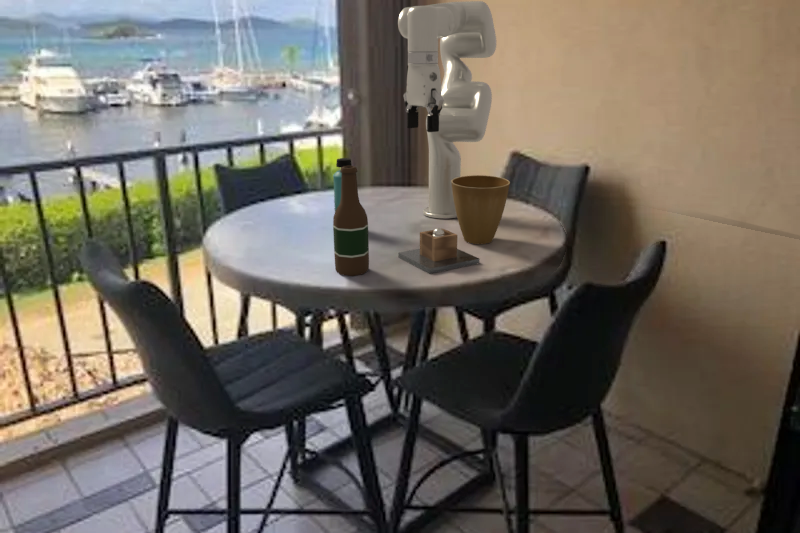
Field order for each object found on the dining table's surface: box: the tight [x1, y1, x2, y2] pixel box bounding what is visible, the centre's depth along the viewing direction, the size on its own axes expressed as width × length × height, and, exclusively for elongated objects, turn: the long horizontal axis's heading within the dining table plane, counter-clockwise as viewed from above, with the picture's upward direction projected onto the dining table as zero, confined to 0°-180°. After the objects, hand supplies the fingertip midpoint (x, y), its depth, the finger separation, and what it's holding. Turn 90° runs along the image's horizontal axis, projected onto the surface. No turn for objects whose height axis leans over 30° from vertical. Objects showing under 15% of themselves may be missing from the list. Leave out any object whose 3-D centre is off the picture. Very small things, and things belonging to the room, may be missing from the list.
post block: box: [397, 227, 481, 275], centre depth 149 cm, size 14×14×8 cm
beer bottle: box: [332, 165, 370, 277], centre depth 140 cm, size 8×8×24 cm
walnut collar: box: [419, 228, 458, 261], centre depth 149 cm, size 6×6×6 cm
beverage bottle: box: [332, 157, 353, 214], centre depth 173 cm, size 6×7×20 cm
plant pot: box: [451, 174, 511, 245], centre depth 163 cm, size 15×15×16 cm
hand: (422, 129), depth 161 cm, fingers open, 9 cm apart
